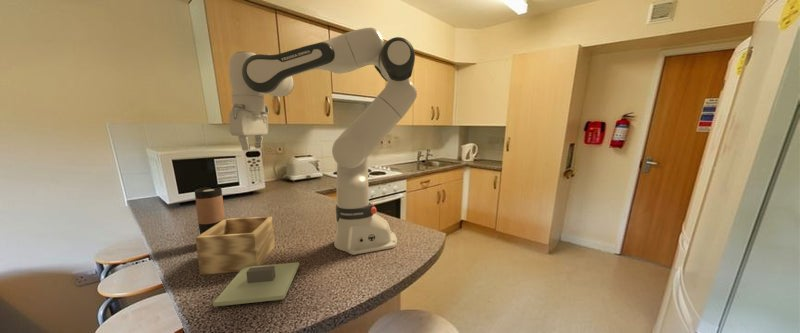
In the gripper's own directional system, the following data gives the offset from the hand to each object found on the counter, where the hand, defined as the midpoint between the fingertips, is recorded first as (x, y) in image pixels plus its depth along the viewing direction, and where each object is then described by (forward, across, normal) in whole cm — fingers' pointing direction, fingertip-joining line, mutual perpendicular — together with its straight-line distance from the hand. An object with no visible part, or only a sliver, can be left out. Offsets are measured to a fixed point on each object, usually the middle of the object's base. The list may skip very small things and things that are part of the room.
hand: (252, 149), depth 82 cm
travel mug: (+34, +6, +18) cm, 39 cm away
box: (+34, -8, +3) cm, 35 cm away
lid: (+35, -24, -9) cm, 43 cm away
